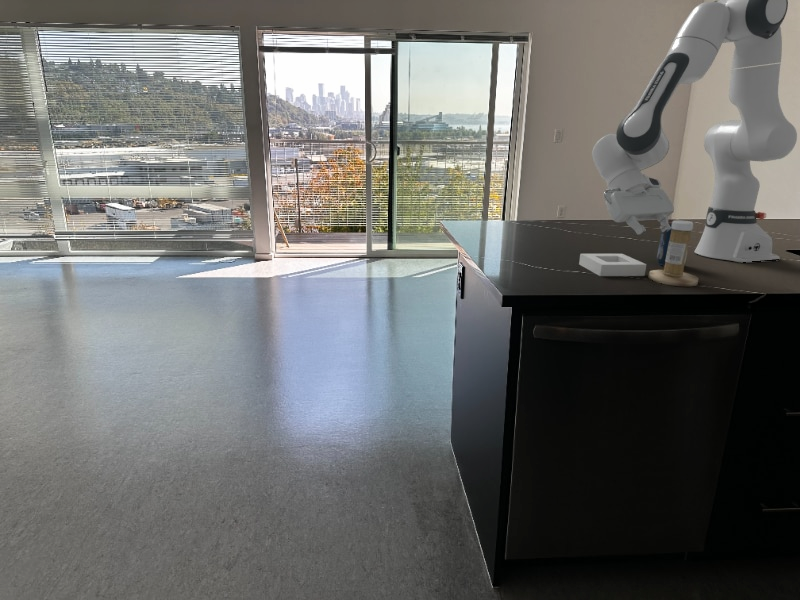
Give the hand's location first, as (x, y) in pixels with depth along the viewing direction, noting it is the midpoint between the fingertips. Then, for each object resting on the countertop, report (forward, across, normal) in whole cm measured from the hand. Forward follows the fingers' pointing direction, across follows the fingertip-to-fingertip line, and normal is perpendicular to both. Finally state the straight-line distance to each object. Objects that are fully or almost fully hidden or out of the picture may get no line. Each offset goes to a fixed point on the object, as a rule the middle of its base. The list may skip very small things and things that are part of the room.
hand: (654, 231), depth 129 cm
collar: (+4, -7, +12) cm, 14 cm away
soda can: (+5, +14, +10) cm, 18 cm away
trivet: (+13, 0, +2) cm, 13 cm away
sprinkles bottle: (+12, 0, +2) cm, 12 cm away
